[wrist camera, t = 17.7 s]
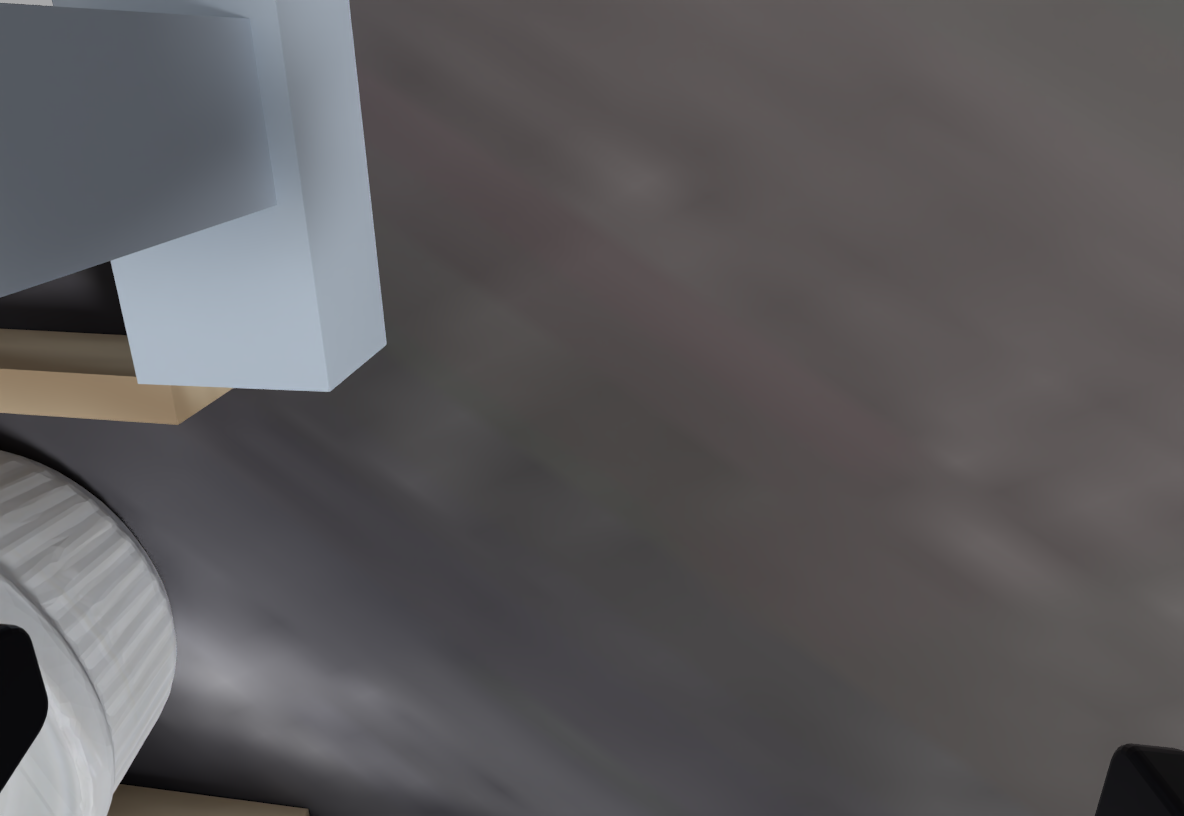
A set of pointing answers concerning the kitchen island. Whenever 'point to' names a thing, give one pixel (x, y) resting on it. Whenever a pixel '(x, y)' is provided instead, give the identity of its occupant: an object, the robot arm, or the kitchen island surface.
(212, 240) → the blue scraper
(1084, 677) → the kitchen island surface
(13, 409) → the oak corral
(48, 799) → the ramekin
